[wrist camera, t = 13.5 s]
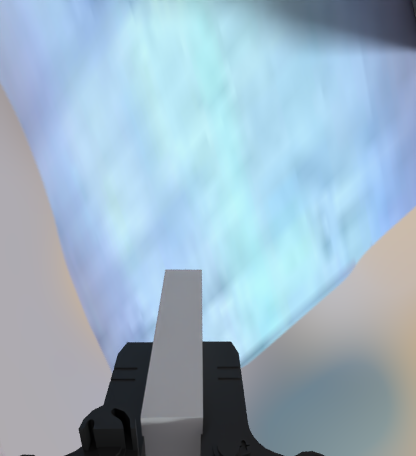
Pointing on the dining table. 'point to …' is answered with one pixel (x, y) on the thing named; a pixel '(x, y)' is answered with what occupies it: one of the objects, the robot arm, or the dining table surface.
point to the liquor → (414, 6)
